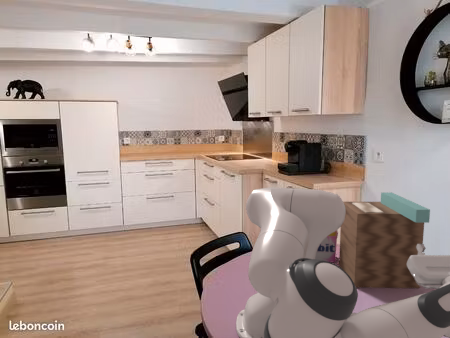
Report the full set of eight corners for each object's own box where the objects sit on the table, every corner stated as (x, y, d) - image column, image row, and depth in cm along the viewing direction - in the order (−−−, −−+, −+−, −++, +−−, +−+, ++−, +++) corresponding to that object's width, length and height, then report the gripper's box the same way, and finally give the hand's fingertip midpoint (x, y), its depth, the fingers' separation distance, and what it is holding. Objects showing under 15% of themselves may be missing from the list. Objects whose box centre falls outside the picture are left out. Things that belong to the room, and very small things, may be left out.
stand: (354, 287, 117) (357, 212, 114) (339, 265, 135) (341, 200, 132) (419, 288, 116) (424, 213, 113) (395, 266, 134) (399, 201, 131)
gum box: (336, 255, 146) (337, 224, 144) (339, 263, 138) (340, 230, 136) (279, 252, 149) (279, 222, 148) (279, 259, 142) (279, 228, 140)
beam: (415, 222, 103) (416, 209, 103) (380, 202, 129) (381, 192, 129) (429, 222, 103) (430, 209, 103) (391, 202, 129) (391, 192, 128)
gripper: (415, 295, 87) (395, 252, 98) (497, 296, 86) (468, 252, 97) (423, 280, 84) (402, 237, 95) (509, 281, 83) (478, 238, 94)
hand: (436, 245), depth 96 cm, fingers open, 8 cm apart
